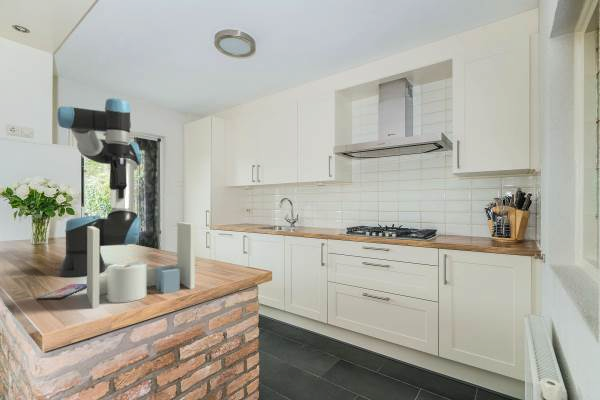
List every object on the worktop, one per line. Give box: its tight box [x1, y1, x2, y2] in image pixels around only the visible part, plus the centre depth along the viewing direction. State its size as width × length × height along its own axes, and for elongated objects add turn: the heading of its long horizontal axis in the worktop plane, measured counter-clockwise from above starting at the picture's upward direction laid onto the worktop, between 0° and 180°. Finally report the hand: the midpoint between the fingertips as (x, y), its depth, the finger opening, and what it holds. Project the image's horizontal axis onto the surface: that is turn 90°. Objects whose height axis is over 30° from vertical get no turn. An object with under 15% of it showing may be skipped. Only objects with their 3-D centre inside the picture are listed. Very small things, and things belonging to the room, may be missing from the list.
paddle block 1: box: [155, 265, 174, 291], centre depth 103 cm, size 3×5×7 cm, turn 131°
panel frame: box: [86, 221, 196, 309], centre depth 98 cm, size 14×29×22 cm, turn 131°
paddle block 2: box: [160, 268, 181, 295], centre depth 99 cm, size 3×5×7 cm, turn 131°
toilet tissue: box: [106, 259, 148, 304], centre depth 93 cm, size 11×12×10 cm
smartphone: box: [36, 283, 87, 301], centre depth 98 cm, size 8×1×15 cm
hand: (117, 207), depth 105 cm, fingers open, 9 cm apart
